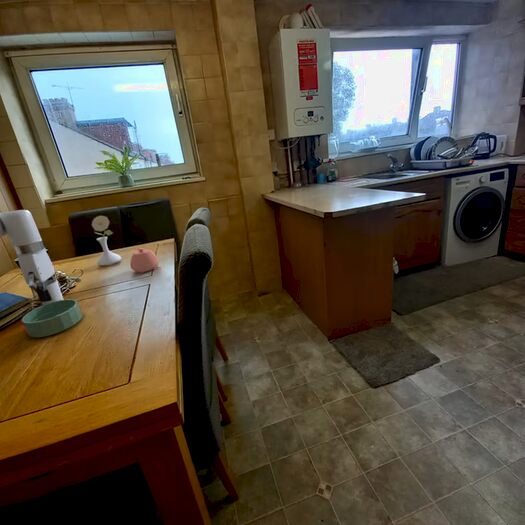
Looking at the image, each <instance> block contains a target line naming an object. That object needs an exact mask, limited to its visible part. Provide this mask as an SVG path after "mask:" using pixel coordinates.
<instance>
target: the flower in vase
mask: <svg viewBox="0 0 525 525" xmlns="http://www.w3.org/2000/svg"><path fill="white" fill-rule="evenodd" d="M110 223H111V222H110V220H109V218H108V216H105V215H98V216H96V217H95V218H93V220H92V221H91V227H92V228H93V230H94V231H96V232H95V234H97V235H101V237H97V238H96V241H98V243H99V244H100V245H101V248H102V254H101V255H100V256H99V258H98V260H97V261H96V265H98V266H104V267H105V266H111V265H114V264H116V263H118V262H121V260H122V257H121V256H120V255H119V254H116V253H114V252H112V251H110V250H109V248H108V244H107V240H108V236H111V235H112V234H114V232H113V231H111V230H110V229H108V228H109V225H110ZM99 232H103V234H102V233H99ZM105 235H107V236H105Z"/></svg>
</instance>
